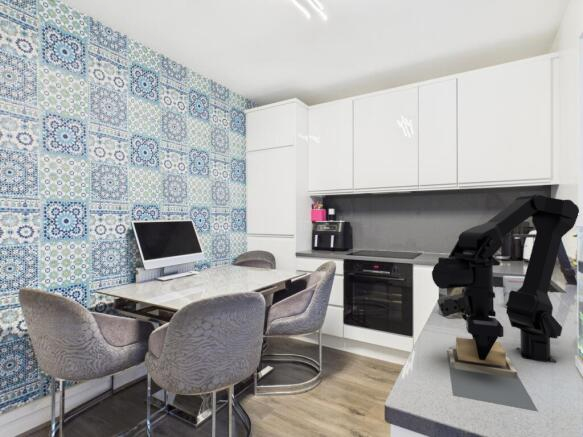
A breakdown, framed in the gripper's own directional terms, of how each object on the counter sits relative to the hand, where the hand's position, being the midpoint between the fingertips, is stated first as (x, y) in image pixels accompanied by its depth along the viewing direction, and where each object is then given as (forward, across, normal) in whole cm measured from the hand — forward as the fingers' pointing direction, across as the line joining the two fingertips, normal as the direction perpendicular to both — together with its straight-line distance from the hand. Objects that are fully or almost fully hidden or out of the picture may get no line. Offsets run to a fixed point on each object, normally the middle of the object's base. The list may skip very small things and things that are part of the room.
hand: (479, 354), depth 71 cm
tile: (+1, 0, 0) cm, 1 cm away
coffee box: (+3, -40, -2) cm, 41 cm away
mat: (+3, +6, 0) cm, 6 cm away
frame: (+2, 0, 0) cm, 2 cm away
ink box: (+3, -58, +20) cm, 62 cm away
